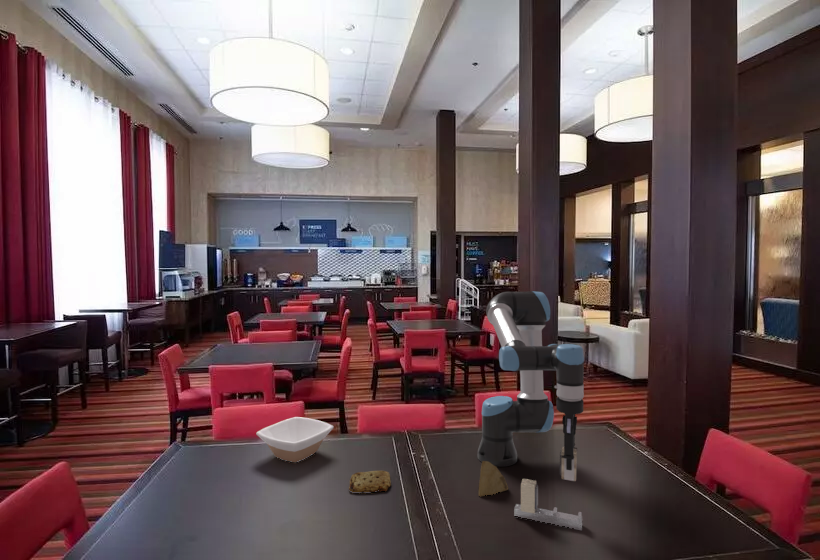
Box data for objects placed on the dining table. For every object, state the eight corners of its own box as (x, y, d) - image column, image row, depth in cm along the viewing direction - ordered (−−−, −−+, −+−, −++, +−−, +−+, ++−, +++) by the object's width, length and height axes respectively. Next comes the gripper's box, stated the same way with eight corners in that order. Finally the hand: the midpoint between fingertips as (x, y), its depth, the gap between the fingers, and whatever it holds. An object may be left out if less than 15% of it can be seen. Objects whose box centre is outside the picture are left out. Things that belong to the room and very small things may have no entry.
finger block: (560, 472, 139) (560, 446, 138) (576, 475, 137) (576, 448, 137) (559, 478, 135) (559, 451, 134) (575, 481, 133) (576, 454, 133)
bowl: (339, 450, 187) (338, 425, 186) (293, 474, 166) (293, 446, 165) (297, 438, 199) (297, 414, 199) (250, 459, 179) (250, 433, 178)
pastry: (404, 483, 159) (404, 475, 159) (367, 503, 147) (367, 494, 147) (371, 468, 171) (371, 460, 171) (334, 485, 159) (333, 477, 158)
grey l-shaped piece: (513, 517, 137) (514, 483, 137) (516, 510, 141) (516, 477, 140) (581, 531, 130) (582, 495, 129) (582, 523, 134) (582, 488, 133)
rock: (509, 477, 158) (480, 470, 160) (512, 464, 152) (482, 458, 154) (506, 508, 150) (475, 501, 152) (509, 496, 144) (477, 489, 146)
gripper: (558, 389, 144) (558, 462, 145) (554, 404, 128) (553, 486, 129) (584, 391, 141) (583, 466, 142) (582, 407, 126) (582, 491, 126)
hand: (569, 475), depth 136 cm, fingers closed on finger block, 4 cm apart
